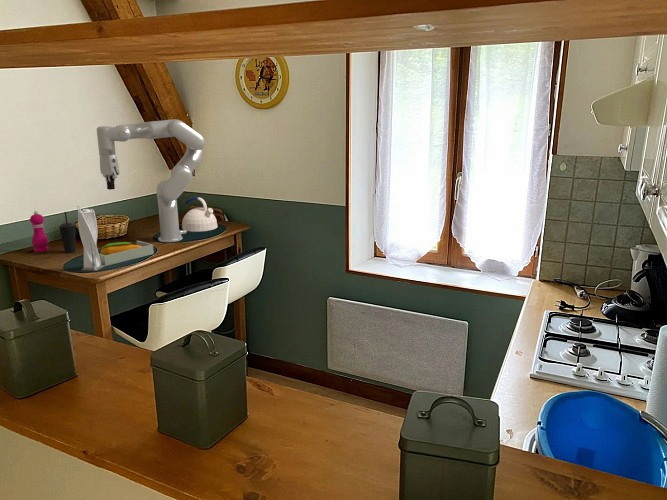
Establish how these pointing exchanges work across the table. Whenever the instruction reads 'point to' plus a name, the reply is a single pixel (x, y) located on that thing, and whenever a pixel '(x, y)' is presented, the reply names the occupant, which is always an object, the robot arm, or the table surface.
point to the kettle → (199, 218)
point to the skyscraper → (89, 239)
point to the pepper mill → (38, 233)
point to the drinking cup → (68, 236)
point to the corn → (117, 248)
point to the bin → (127, 254)
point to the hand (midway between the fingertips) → (111, 189)
